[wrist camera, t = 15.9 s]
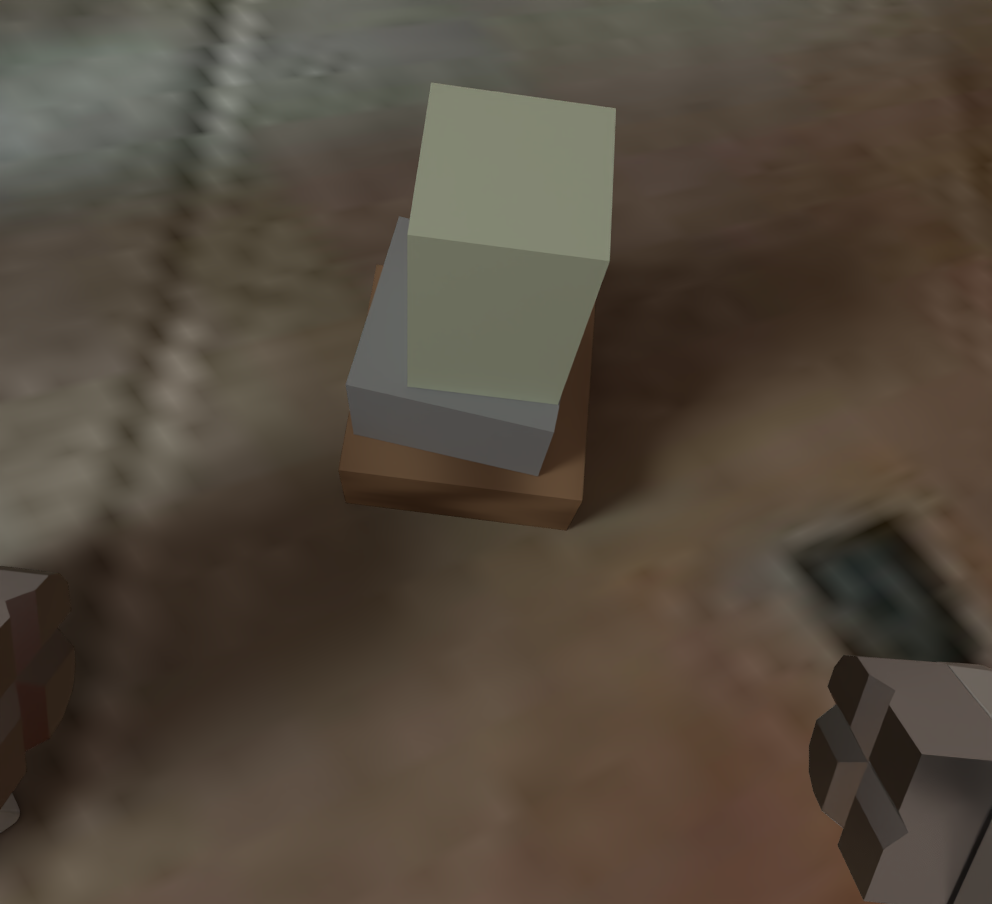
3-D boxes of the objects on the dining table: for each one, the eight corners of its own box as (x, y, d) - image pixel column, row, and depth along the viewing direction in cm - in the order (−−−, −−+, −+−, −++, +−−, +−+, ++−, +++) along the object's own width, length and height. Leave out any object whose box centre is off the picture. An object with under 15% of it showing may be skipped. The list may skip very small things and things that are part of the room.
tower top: (353, 434, 32) (345, 384, 28) (400, 279, 35) (399, 216, 31) (537, 476, 32) (554, 432, 28) (570, 318, 35) (588, 260, 31)
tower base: (346, 505, 35) (338, 470, 31) (380, 316, 38) (376, 264, 35) (565, 532, 35) (582, 500, 32) (579, 343, 39) (596, 294, 35)
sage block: (407, 386, 28) (407, 234, 21) (425, 261, 30) (431, 82, 23) (557, 404, 28) (609, 260, 21) (565, 279, 30) (615, 108, 23)
